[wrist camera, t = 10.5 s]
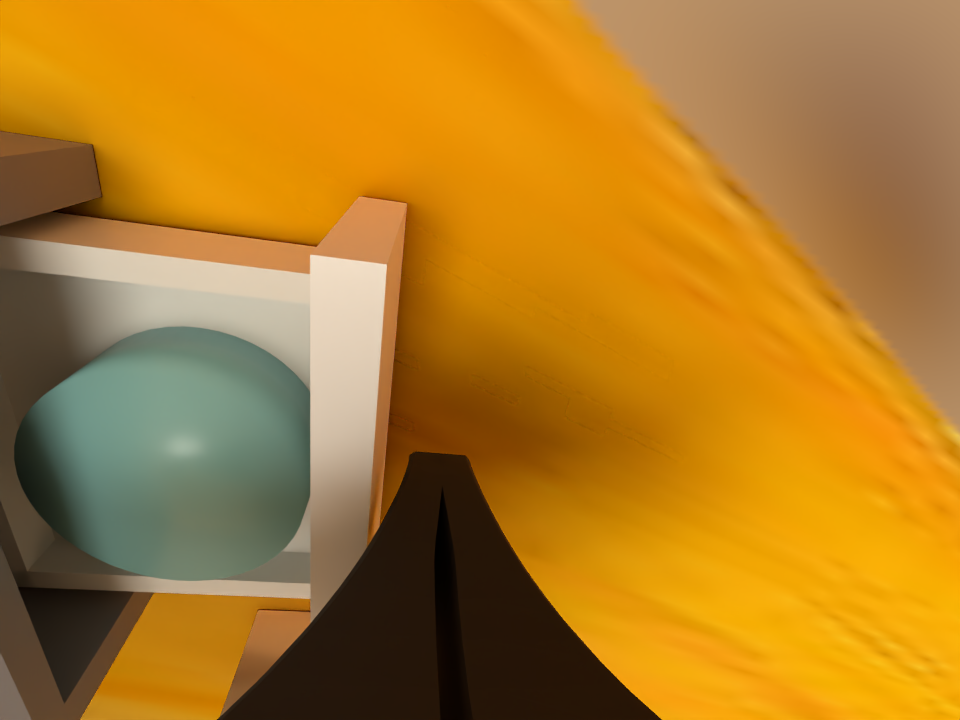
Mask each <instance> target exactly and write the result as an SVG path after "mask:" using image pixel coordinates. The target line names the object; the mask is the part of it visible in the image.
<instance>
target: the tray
mask: <svg viewBox="0 0 960 720" xmlns="http://www.w3.org/2000/svg"><path fill="white" fill-rule="evenodd" d="M406 212H407V203H401V202H395V201H388V200H381V199H374V198H367V197H360V196H359V197H358V199H357V200H356V201H355V202H354V203H353V204H352V206H351V207H350V208H349V209H348V210H347V212H346V213H345V214H344V215H343V216H342V217H341V219H340V220H339V221H338V222H337V223H336V225H335V226H334V227H333V228H332V229H331V230H330V232H329V233H328V234H327V235H326V236H325V238H324V239H323V240H322V241H321V242H320V244H319V245H318V246H317V247H314V246H306V245H299V244H291V243H283V242H276V241H268V240H261V239H253V238H245V237H238V236H230V235H223V234H215V233H207V232H200V231H192V230H185V229H177V228H169V227H162V226H154V225H147V224H139V223H131V222H124V221H116V220H109V219H101V218H93V217H86V216H78V215H71V214H63V213H55V212H47V213H44V214H40V215H37V216H33V217H30V218H26V219H23V220H19V221H16V222H13V223H9V224H6V225H2V226H0V544H1V547H2V549H3V552H4V554H5V557H6V559H7V562H8V564H9V567H10V569H11V572H12V574H13V577H14V579H15V582H16V584H17V587H33V588H58V589H83V590H107V591H132V592H157V593H181V594H206V595H230V596H255V597H280V598H304V599H310V606H311V622H312V621H313V620H314V618H315V617H316V616H317V615H318V614H319V612H320V611H321V610H322V609H323V607H324V606H325V605H326V603H327V602H328V601H329V600H330V598H331V597H332V596H333V595H334V593H335V592H336V591H337V590H338V588H339V587H340V586H341V584H342V583H343V582H344V580H345V579H346V577H347V576H348V575H349V573H350V572H351V570H352V569H353V568H354V566H355V565H356V563H357V562H358V560H359V559H360V557H361V556H362V554H363V553H364V551H365V550H366V548H367V547H368V545H369V543H370V542H371V540H372V538H373V537H374V535H375V533H376V532H377V530H378V528H379V526H380V515H381V503H382V491H383V480H384V468H385V456H386V445H387V433H388V422H389V410H390V398H391V387H392V375H393V363H394V352H395V340H396V328H397V317H398V305H399V293H400V282H401V270H402V259H403V247H404V235H405V224H406ZM181 326H185V327H196V328H204V329H210V330H215V331H220V332H223V333H226V334H229V335H233V336H236V337H238V338H241V339H243V340H245V341H248V342H250V343H253V344H254V345H256V346H258V347H260V348H262V349H263V350H265V351H267V352H269V353H270V354H272V355H273V356H274V357H276V358H277V359H279V360H280V361H282V362H283V363H284V364H285V365H286V366H287V367H288V368H290V369H291V370H292V371H293V372H294V373H295V374H296V375H297V376H298V377H299V379H300V380H301V381H302V382H303V383H304V384H305V386H306V387H307V388H308V390H309V391H310V498H309V501H308V504H307V507H306V510H305V513H304V516H303V519H302V522H301V525H300V527H299V529H298V531H297V533H296V534H295V536H294V538H293V539H292V540H291V541H290V543H289V544H288V545H287V546H286V547H285V548H284V549H283V550H282V551H281V552H280V553H279V554H278V555H277V556H275V557H274V558H272V559H271V560H269V561H268V562H266V563H265V564H263V565H261V566H259V567H257V568H255V569H253V570H250V571H247V572H244V573H242V574H238V575H234V576H231V577H227V578H221V579H214V580H203V581H177V580H168V579H160V578H155V577H149V576H144V575H140V574H137V573H133V572H130V571H126V570H123V569H121V568H118V567H115V566H113V565H110V564H108V563H105V562H103V561H101V560H99V559H97V558H95V557H93V556H91V555H89V554H87V553H86V552H84V551H82V550H80V549H79V548H77V547H76V546H74V545H73V544H71V543H70V542H69V541H67V540H66V539H64V538H63V537H62V536H61V535H59V534H58V533H57V532H56V531H55V530H54V529H52V528H51V527H50V526H49V525H48V524H47V523H46V521H45V520H44V519H43V518H42V517H41V516H40V515H39V514H38V513H37V511H36V510H35V508H34V507H33V506H32V504H31V503H30V502H29V500H28V498H27V496H26V494H25V493H24V491H23V489H22V487H21V484H20V481H19V479H18V476H17V472H16V467H15V462H14V444H15V439H16V434H17V431H18V429H19V426H20V424H21V422H22V419H23V418H24V416H25V415H26V414H27V412H28V411H29V409H30V408H31V407H32V406H33V405H34V404H35V403H36V402H37V401H38V400H39V399H40V398H41V397H42V396H43V395H45V394H46V393H47V392H49V391H50V390H52V389H53V388H54V387H56V386H57V385H58V384H60V383H61V382H63V381H64V380H65V379H67V378H68V377H69V376H71V375H72V374H74V373H75V372H76V371H78V370H79V369H80V368H82V367H83V366H85V365H86V364H87V363H89V362H90V361H91V360H93V359H94V358H96V357H97V356H98V355H100V354H101V353H102V352H104V351H105V350H107V349H108V348H109V347H111V346H112V345H114V344H115V343H117V342H119V341H120V340H122V339H124V338H126V337H129V336H131V335H133V334H136V333H139V332H143V331H146V330H150V329H156V328H163V327H181Z"/></svg>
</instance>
